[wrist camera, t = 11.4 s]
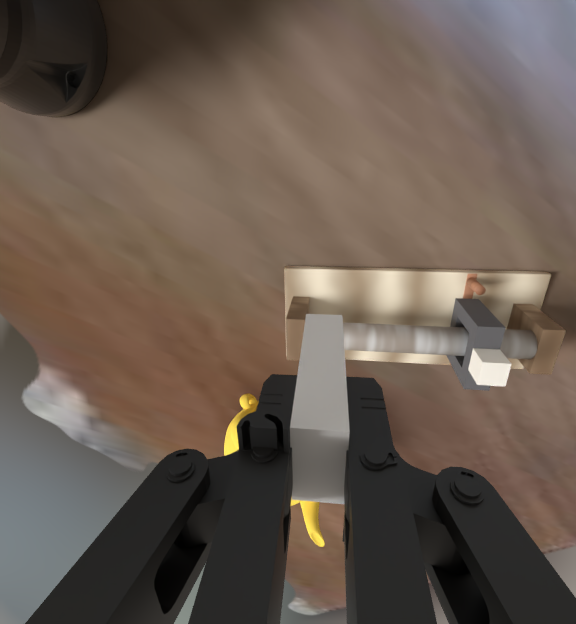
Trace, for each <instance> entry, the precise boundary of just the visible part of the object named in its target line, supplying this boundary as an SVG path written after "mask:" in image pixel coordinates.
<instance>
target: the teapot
mask: <svg viewBox="0 0 576 624" xmlns="http://www.w3.org/2000/svg"><path fill="white" fill-rule="evenodd" d="M258 402H259V400H258V401H257V400H256V398H255V397H254V396H253V395H251V394H244V395H243V396H242V397H241V398H240V404H241V406H242V408H243V410H242V411H241V412H239V413H238V414H237V415H236V416H235V417H234V419H233V420H232V421H231V423H230V425H229V427H228V429H227V433H226V438H225V444H224V456H226V455H229V454H231V453H233V452H235V451H237V450H238V449H239V445H238V436H237V427H236V426H237V425H238V423H239V421H240V420H241V419H242V418H243V417H245V416H246V415H247V414H249V413H252V412H255V411H256V409H257V405H258ZM299 502H300V504H301V507H302V511H303V515H304V520H305V524H306V527H307V530H308V533H309V535H310V537H311V539H312V540H313V541H314V542H315V543H316V544H317V545H318V546H320V547H323V546H324V545H325V544H324V539H323V537H322V534H321V531H320V528H319V521H318V511H319V502H313V501H301V500H292V497H291V506H292V505H295V504H297V503H299Z"/></svg>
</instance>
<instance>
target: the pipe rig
mask: <svg viewBox="0 0 576 624" xmlns="http://www.w3.org/2000/svg"><path fill="white" fill-rule="evenodd" d="M284 273H285V319H286V356H287V360H298V361H300V354H301V347H302V340H303V333H304V326H305V319H306V314H326V315H342V318H343V334H344V350H345V359H350V360H368V361H386V362H405V363H423V364H442V365H451V363H450V362H449V360H448V358H447V356H446V355H453V356H465V352H466V347H467V342H468V338H469V332H468V331H467V329H466V328H465V327H450V325H451V319H452V314H453V309H454V304H455V298H464V299H479V300H480V301H481V302H482V303H483V304H484V305H485V306H486V307H487V308H488V309H489V310H490V312H491V313H492V314H493V315H494V316H495V317H496V318H497V319H498V320H499V321H500V322H501V323H502V324H503V325H504V326H505V327H506V328H505V332H504V336H503V340H502V344H501V348H500V350H501V351H502V353H503V354H504V355H505V356H506V358H507V359H508V360H509V361H510V362H511V368H515V369H523V367H525V368H526V370H527V371H528V372H529V373H532V374H550V375H551V373H552V370H553V368H554V365H555V362H556V359H557V356H558V353H559V350H560V347H561V344H562V341H563V338H564V335H565V332H566V330H565V329H563V328H562V327H561V326H560V325H558V324H557V323H556V322H555V321H553V320H552V319H551V318H550V317H548V316H547V315H546V314H544V313H543V312H542V311H541V307H542V304H543V300H544V297H545V294H546V290H547V287H548V284H549V280H550V277H551V274H550V273H548V272H539V271H494V270H448V269H403V268H357V267H312V266H285V268H284Z"/></svg>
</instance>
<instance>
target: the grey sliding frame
mask: <svg viewBox="0 0 576 624" xmlns="http://www.w3.org/2000/svg"><path fill="white" fill-rule="evenodd" d="M450 327H465V328H466V329H467V331H468V332H469V338H468V342H467V347H466V352H465V356H453V355H446V356H447V358H448V360H449V362H450V363H451V365H452V367H453V369H454V371H455V373H456V375H457V377H458V379H459V381H460V383H461V384H462V386H463V388H464V389H473V390H490V386H506V382H507V378H508V375H509V371H510V368H511V362H510V361H509V360H508V359H507V358H506V356H505V355H504V354H503V353H502V351H501V350H500V348H501V344H502V340H503V336H504V332H505V328H506V327H505V326H504V325H503V324H502V323H501V322H500V321H499V320H498V319H497V318H496V317H495V316H494V315H493V314H492V313H491V312H490V310H489V309H488V308H487V307H486V306H485V305H484V304H483V303H482V302H481V301H480V300H479V299H464V298H455V304H454V309H453V314H452V319H451V325H450Z"/></svg>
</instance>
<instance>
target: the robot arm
mask: <svg viewBox="0 0 576 624" xmlns="http://www.w3.org/2000/svg"><path fill="white" fill-rule="evenodd" d="M106 59H107V40H106V31H105V26H104V21H103V17H102V13H101V10H100V7H99V4H98V2H97V0H0V101H1V102H2V103H4V104H6V105H8V106H10V107H12V108H14V109H16V110H19V111H22V112H25V113H28V114H33V115H40V116H48V117H62V116H67V115H70V114H73V113H75V112H77V111H79V110H81V109H82V108H83V107H85V106H86V105H87V104H88V103H89V102H90V101H91V100H92V98H93V97H94V95H95V94H96V92H97V91H98V89H99V87H100V84H101V82H102V79H103V76H104V72H105V67H106ZM236 427H237V436H238V445H239V449H238V450H237V451H235V452H233V453H231V454H229V455H226V456H222V457H217V458H212V459H206V457H205V456H204V454H203V453H201V452H199V451H197V450H194V449H183V450H178V451H175V452H173V453H171V454H169V455H167V456H166V457H165V458H164V459H163V460H162V461H160V462H159V464H158V465H157V466H156V467H155V468H154V470H153V471H152V472H151V473H150V474H149V476H148V477H147V478H146V479H145V480H144V482H143V483H142V484H141V485H140V486H139V488H138V489H137V490H136V491H135V492H134V494H133V495H132V496H131V497H130V499H129V500H128V501H127V502H126V503H125V504H124V506H123V507H122V508H121V509H120V510H119V512H118V513H117V514H116V515H115V517H114V518H113V519H112V520H111V521H110V522H109V524H108V525H107V526H106V527H105V529H104V530H103V531H102V532H101V533H100V534H99V536H98V537H97V538H96V539H95V541H94V542H93V543H92V544H91V545H90V546H89V548H88V549H87V550H86V551H85V552H84V554H83V555H82V556H81V557H80V558H79V560H78V561H77V562H76V563H75V565H74V566H73V567H72V568H71V569H70V570H69V572H68V573H67V574H66V575H65V576H64V578H63V579H62V580H61V581H60V583H59V584H58V585H57V586H56V587H55V588H54V590H53V591H52V592H51V593H50V595H49V596H48V597H47V598H46V599H45V600H44V602H43V603H42V604H41V605H40V607H39V608H38V609H37V610H36V611H35V612H34V614H33V615H32V616H31V617H30V618H29V620H28V621H27V622H26V623H25V624H174V622H175V620H176V618H177V616H178V614H179V612H180V611H181V609H182V607H183V605H184V603H185V601H186V599H187V597H188V595H189V593H190V592H191V590H192V588H193V586H194V584H195V582H196V580H197V578H198V576H199V574H200V572H201V571H202V569H203V567H204V565H205V563H206V565H205V568H204V572H203V576H202V579H201V582H200V585H199V589H198V592H197V596H196V599H195V603H194V606H193V609H192V613H191V616H190V620H189V623H188V624H280V618H281V608H282V599H283V589H284V579H285V570H286V560H287V551H288V541H289V531H290V522H291V510H290V506H291V497H292V500H301V501H313V502H325V503H336V504H344V503H345V515H344V529H343V542H344V544H345V578H346V610H347V624H437V622H436V617H435V612H434V608H433V603H432V598H431V594H430V589H429V584H428V580H427V575H426V572H427V574H428V577H429V579H430V581H431V584H432V586H433V588H434V590H435V593H436V595H437V597H438V600H439V602H440V604H441V606H442V609H443V611H444V613H445V615H446V617H447V620H448V622H449V624H576V598H575V597H574V595H573V594H572V592H571V591H570V590H569V588H568V587H567V586H566V584H565V583H564V582H563V580H562V579H561V578H560V576H559V575H558V573H557V572H556V571H555V570H554V568H553V567H552V565H551V564H550V563H549V561H548V560H547V559H546V557H545V556H544V555H543V553H542V552H541V551H540V549H539V548H538V546H537V545H536V544H535V542H534V541H533V540H532V538H531V537H530V536H529V534H528V533H527V532H526V530H525V529H524V528H523V526H522V525H521V524H520V522H519V521H518V519H517V518H516V517H515V515H514V514H513V513H512V511H511V510H510V509H509V507H508V506H507V505H506V503H505V502H504V501H503V499H502V498H501V497H500V495H499V494H498V492H497V491H496V490H495V488H494V487H493V486H492V485H491V484H490V483H489V482H488V481H487V480H486V479H485V478H484V477H482V476H481V475H479V474H477V473H476V472H474V471H472V470H469V469H466V468H463V467H449V468H446V469H443V470H442V471H441V472H440V473H439V474H438V475H434V474H432V473H429V472H426V471H423V470H420V469H418V468H415V467H413V466H411V465H410V464H408V463H407V462H405V461H404V460H403V459H402V458H401V457H400V456H399V454H398V453H397V452H396V450H395V448H394V445H393V442H392V437H391V432H390V427H389V422H388V417H387V412H386V407H385V402H384V397H383V392H382V388H381V387H380V385H379V384H378V383H377V382H376V380H375V379H374V378H360V377H346V366H345V350H344V334H343V318H342V315H326V314H306V319H305V326H304V333H303V340H302V347H301V354H300V361H299V368H298V375H276V374H272V375H271V376H270V377H269V378H268V379H267V380H266V381H265V382H264V384H263V387H262V391H261V395H260V398H259V402H258V405H257V409H256V411H255V412H252V413H249V414H247V415H246V416H245V417H243V418H242V419H241V420H240V421H239V423H238V425H237V426H236ZM206 561H207V562H206ZM425 570H426V571H425Z"/></svg>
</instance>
